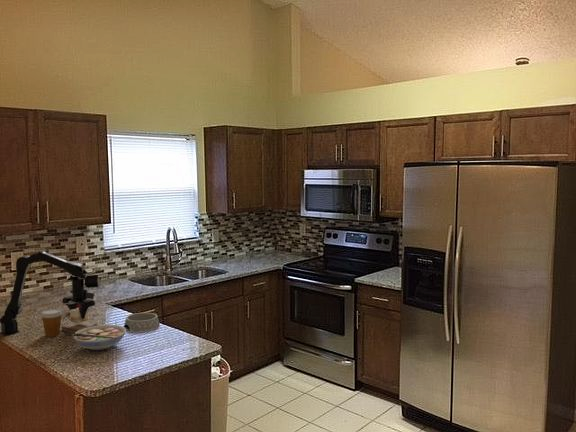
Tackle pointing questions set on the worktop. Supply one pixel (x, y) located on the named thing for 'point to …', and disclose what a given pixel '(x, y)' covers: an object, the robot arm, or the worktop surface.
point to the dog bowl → (142, 321)
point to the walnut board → (77, 326)
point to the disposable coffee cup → (51, 322)
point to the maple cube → (77, 316)
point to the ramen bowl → (99, 336)
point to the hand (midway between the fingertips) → (79, 317)
